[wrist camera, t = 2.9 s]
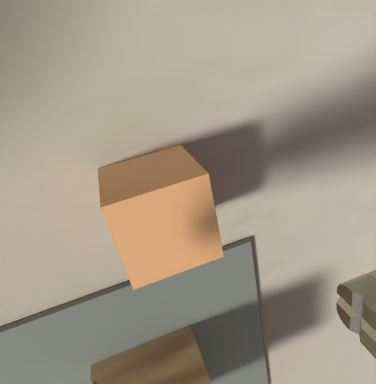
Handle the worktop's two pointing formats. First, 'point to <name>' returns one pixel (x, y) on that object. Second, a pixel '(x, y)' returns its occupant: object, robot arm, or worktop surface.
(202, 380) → the oak base block
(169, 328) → the slate mat
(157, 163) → the light orange cube
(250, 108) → the worktop surface
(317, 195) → the worktop surface
